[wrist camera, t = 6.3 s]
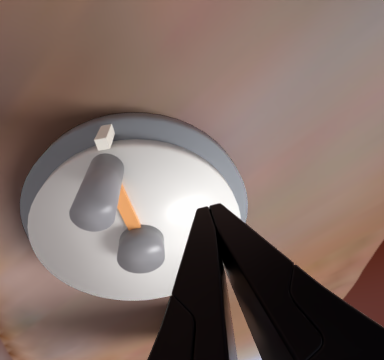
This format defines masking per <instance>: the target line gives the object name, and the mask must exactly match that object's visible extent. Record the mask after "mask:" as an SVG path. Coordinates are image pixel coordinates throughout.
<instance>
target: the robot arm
mask: <svg viewBox="0 0 384 360" xmlns="http://www.w3.org/2000/svg"><path fill="white" fill-rule="evenodd" d="M223 264H224V265H223ZM224 268H225V270H226V273H227V276H228V278H229V280H230V283H231V285H232V288H233V290H234V293H235V295H236V297H237V300H238V302H239V305H240V307H241V310H242V312H243V314H244V317H245V319H246V322H247V324H248V327H249V329H250V331H251V334H252V336H253V339H254V341H255V343H256V346H257V348H258V351H259V353H260V356H261V358H262V360H384V327H382V326H381V325H379V324H378V323H376V322H375V321H373V320H372V319H370V318H369V317H367V316H366V315H364V314H363V313H361V312H360V311H358V310H357V309H355V308H354V307H352V306H351V305H349V304H348V303H346V302H345V301H343V300H342V299H341V298H339V297H338V296H336V295H335V294H334V293H332V292H331V291H329V290H328V289H326V288H325V287H324V286H322V285H321V284H320V283H318V282H317V281H316V280H315V279H313V278H312V277H311V276H309V275H308V274H307V273H306V272H304V271H303V270H302V269H301V268H300V267H298V266H297V265H294V263H293V262H292V261H291V260H290V259H288V258H287V257H286V256H285V255H284V254H282V253H281V252H280V251H279V250H277V249H276V248H275V247H274V246H273V245H271V244H270V243H269V242H268V241H266V240H265V239H264V238H263V237H262V236H260V235H259V234H258V233H257V232H255V231H254V230H253V229H252V228H251V227H249V226H248V225H247V224H246V223H244V222H243V221H242V220H241V219H240V218H238V217H237V216H236V215H235V214H233V213H232V212H231V211H230V210H228V209H227V208H226V207H225V206H224V205H222V204H221V203H217V204H213V205H210V206H209V207H208V206H205V207H201V208H198V209H197V210H196V213H195V216H194V219H193V223H192V226H191V229H190V233H189V236H188V239H187V243H186V246H185V249H184V253H183V256H182V259H181V263H180V266H179V269H178V273H177V276H176V279H175V283H174V286H173V289H172V293H171V294H172V295H171V296H170V299H169V302H168V306H167V309H166V311H165V315H164V318H163V321H162V324H161V327H160V330H159V332H158V335H157V337H156V340H155V342H154V345H153V347H152V350H151V352H150V355H149V357H148V359H147V360H238V359H237V352H236V345H235V338H234V331H233V325H232V318H231V311H230V304H229V297H228V290H227V283H226V276H225V270H224Z"/></svg>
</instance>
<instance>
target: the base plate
mask: <svg viewBox="0 0 384 360" xmlns="http://www.w3.org/2000/svg"><path fill="white" fill-rule="evenodd" d="M129 139H144V140H155V141H161V142H166V143H170V144H173V145H177V146H180V147H183V148H185V149H187V150H189V151H192V152H194V153H196V154H197V155H199V156H201V157H202V158H204V159H205V160H207V161H208V162H209V163H210V164H212V165H213V166H214V167H215V168H216V169H217V170H218V171H219V172H220V173H221V174H222V176H223V177H224V178H225V180H226V181H227V183H228V185H229V186H230V188H231V190H232V192H233V195H234V197H235V199H236V201H237V204H238V206H239V211H240V215H241V220H242V221H243V222H244V223H246V218H247V211H248V201H247V193H246V189H245V186H244V182H243V180H242V178H241V176H240V174H239V172H238V170H237V168H236V167H235V165H234V163H233V161H232V160H231V159H230V157H229V156H228V154H227V153H226V151H225V150H224V149H223V148H222V147H221V146H220V145H219V144H218V143H217V142H216V141H215V140H214V139H212V138H211V137H210V136H209V135H207V134H206V133H205V132H203V131H201V130H199V129H198V128H196V127H194V126H192V125H190V124H188V123H185V122H183V121H180V120H178V119H175V118H171V117H167V116H163V115H158V114H150V113H120V114H112V115H107V116H103V117H99V118H95V119H92V120H90V121H87V122H85V123H82V124H80V125H78V126H76V127H74V128H73V129H71V130H69V131H68V132H66V133H64V134H63V135H62V136H61V137H59V138H58V139H57V140H56V141H55V142H53V143H52V144H51V145H50V147H49V148H48V149H47V150H46V151H45V152H44V154H43V155H42V156H41V157H40V158H39V160H38V161H37V162H36V163H35V164H34V165H33V167H32V169H31V171H30V172H29V174H28V176H27V177H26V180H25V183H24V186H23V188H22V192H21V199H20V215H21V219H22V224H23V227H24V230H25V232H26V234H27V237H28V239H29V236H28V228H27V226H28V215H29V212H30V208H31V205H32V203H33V201H34V199H35V197H36V195H37V193H38V192H39V190H40V189H41V187H42V186H43V184H44V183H45V181H46V180H47V179H48V178H49V176H50V175H51V174H52V172H53V171H54V170H55V169H57V168H58V167H59V166H60V165H61V164H62V163H63V162H65V161H66V160H68V159H69V158H71V157H72V156H74V155H75V154H77V153H79V152H81V151H83V150H86V149H88V148H90V147H93V146H97V149H98V151H100V150H105V149H110V147H111V144H112V142H113V141H118V140H129Z"/></svg>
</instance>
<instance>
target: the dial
mask: <svg viewBox="0 0 384 360" xmlns="http://www.w3.org/2000/svg"><path fill="white" fill-rule="evenodd" d="M217 203H221V204H222V205H224V206H225V207H226V208H227V209H228V210H230V211H231V212H232V213H233V214H235V215H236V216H237V217H238V218H240V219H241V215H240V211H239V206H238V204H237V201H236V199H235V197H234V195H233V192H232V190H231V188H230V186H229V185H228V183H227V181H226V180H225V178H224V177H223V176H222V174H221V173H220V172H219V171H218V170H217V169H216V168H215V167H214V166H213V165H212V164H210V163H209V162H208V161H207V160H205V159H204V158H202V157H201V156H199V155H197V154H196V153H194V152H192V151H189V150H187V149H185V148H183V147H180V146H177V145H173V144H170V143H166V142H161V141H155V140H144V139H129V140H118V141H113V142H112V144H111V147H110V149H105V150H100V151H98V149H97V146H93V147H90V148H88V149H86V150H83V151H81V152H79V153H77V154H75V155H74V156H72V157H71V158H69V159H68V160H66V161H65V162H63V163H62V164H61V165H60V166H59V167H58V168H57V169H55V170H54V171H53V172H52V174H51V175H50V176H49V178H48V179H47V180H46V181H45V183H44V184H43V186H42V187H41V189H40V190H39V192H38V193H37V195H36V197H35V199H34V201H33V203H32V205H31V208H30V212H29V215H28V226H27V228H28V236H29V240H30V243H31V246H32V249H33V251H34V253H35V254H36V256H37V258H38V259H39V261H40V262H41V263H42V264H43V266H44V267H45V268H46V269H47V270H48V271H49V272H50V273H51V274H53V275H54V276H55V277H57V278H58V279H59V280H61V281H62V282H64V283H66V284H67V285H69V286H71V287H73V288H75V289H77V290H79V291H82V292H85V293H88V294H91V295H94V296H98V297H102V298H108V299H114V300H128V301H138V300H150V299H157V298H162V297H167V296H171V295H172V294H171V293H172V289H173V286H174V283H175V279H176V276H177V273H178V269H179V266H180V263H181V259H182V256H183V253H184V249H185V246H186V243H187V239H188V236H189V233H190V229H191V226H192V223H193V219H194V216H195V213H196V210H197V209H198V208H201V207H205V206H208V207H209V206H210V205H213V204H217ZM223 265H224V264H223Z"/></svg>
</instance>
